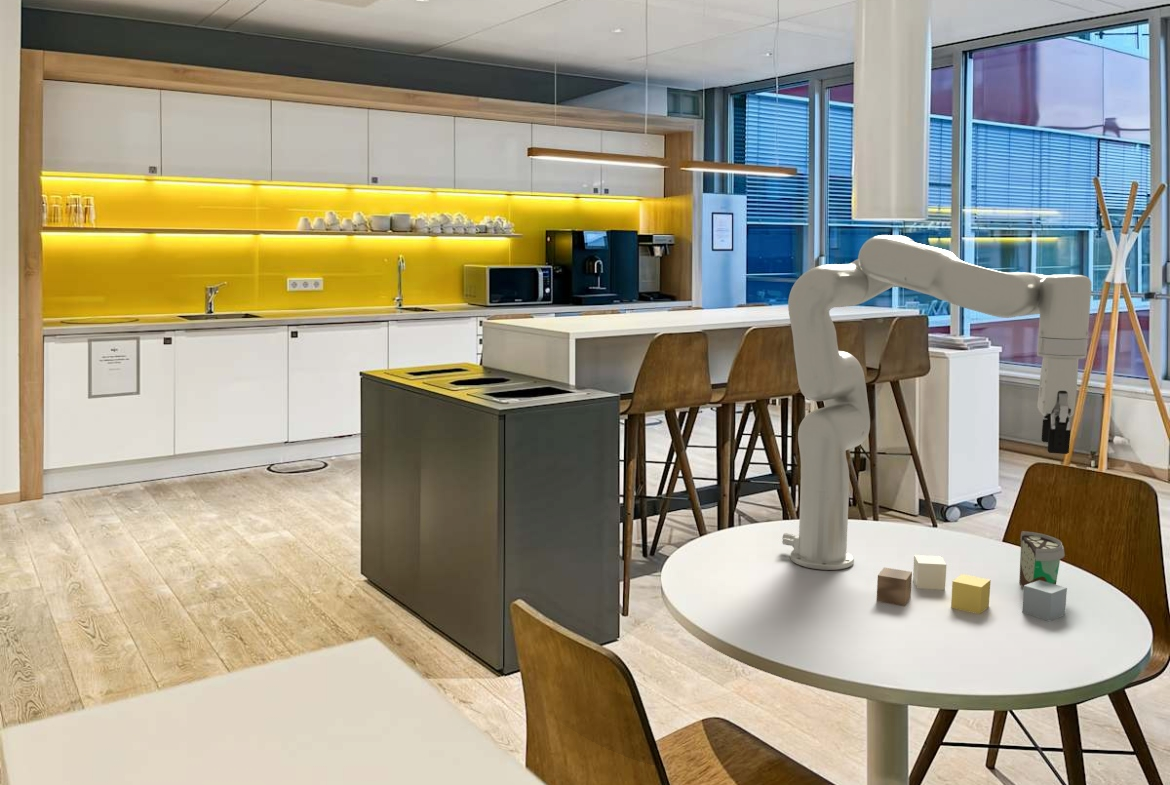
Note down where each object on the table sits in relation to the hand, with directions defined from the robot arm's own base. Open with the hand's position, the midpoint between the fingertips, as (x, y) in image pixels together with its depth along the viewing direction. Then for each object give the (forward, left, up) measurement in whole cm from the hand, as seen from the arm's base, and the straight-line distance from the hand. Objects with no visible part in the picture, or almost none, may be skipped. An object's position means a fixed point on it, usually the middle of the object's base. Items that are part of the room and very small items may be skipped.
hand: (1054, 447), depth 169 cm
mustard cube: (-11, -6, -30) cm, 32 cm away
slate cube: (0, -1, -30) cm, 30 cm away
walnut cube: (-23, -11, -30) cm, 39 cm away
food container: (-3, +10, -30) cm, 32 cm away
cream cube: (-21, +1, -30) cm, 36 cm away
